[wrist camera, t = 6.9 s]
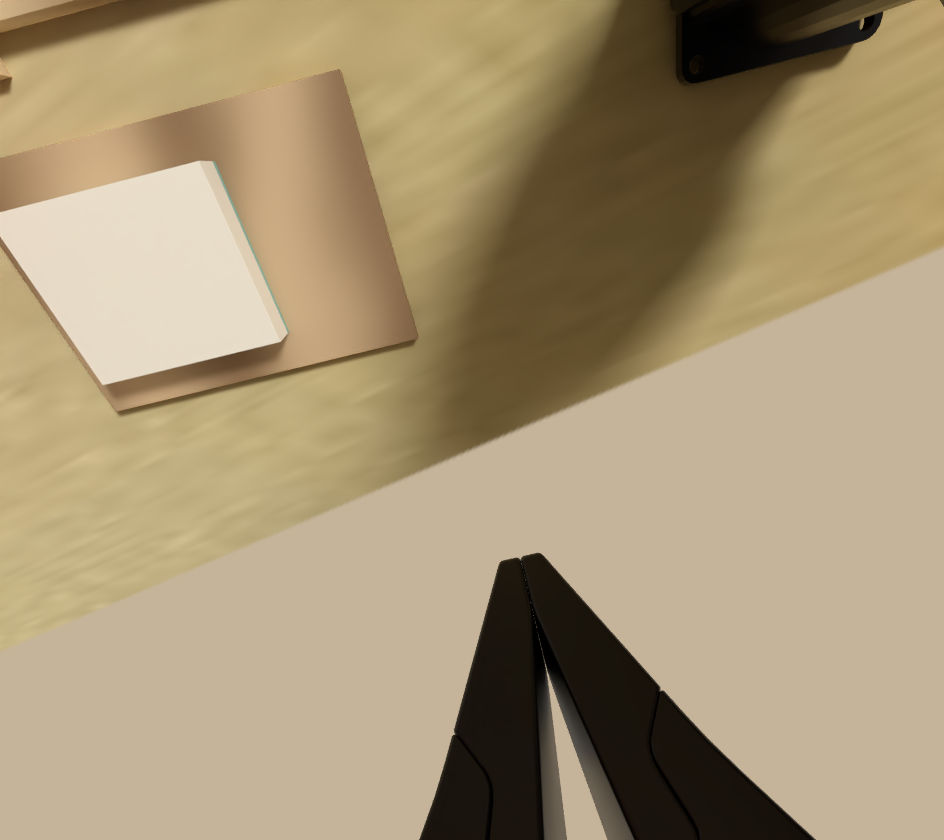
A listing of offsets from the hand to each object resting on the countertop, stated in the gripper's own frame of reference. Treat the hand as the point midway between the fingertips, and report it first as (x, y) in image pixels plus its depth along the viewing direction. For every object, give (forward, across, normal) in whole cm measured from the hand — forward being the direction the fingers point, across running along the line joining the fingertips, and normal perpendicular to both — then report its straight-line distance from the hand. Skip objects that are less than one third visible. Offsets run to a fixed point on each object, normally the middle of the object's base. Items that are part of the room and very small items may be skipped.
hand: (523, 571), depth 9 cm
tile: (+11, +7, -6) cm, 14 cm away
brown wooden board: (+12, +8, -6) cm, 16 cm away
